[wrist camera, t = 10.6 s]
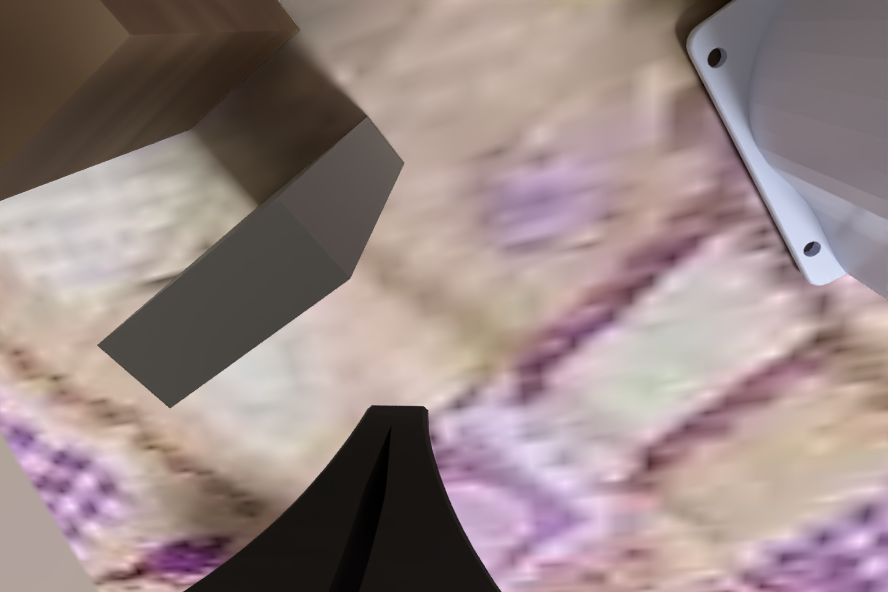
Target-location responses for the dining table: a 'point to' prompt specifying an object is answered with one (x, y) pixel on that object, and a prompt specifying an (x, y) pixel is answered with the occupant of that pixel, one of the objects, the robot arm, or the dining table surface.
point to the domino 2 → (261, 270)
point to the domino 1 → (118, 75)
